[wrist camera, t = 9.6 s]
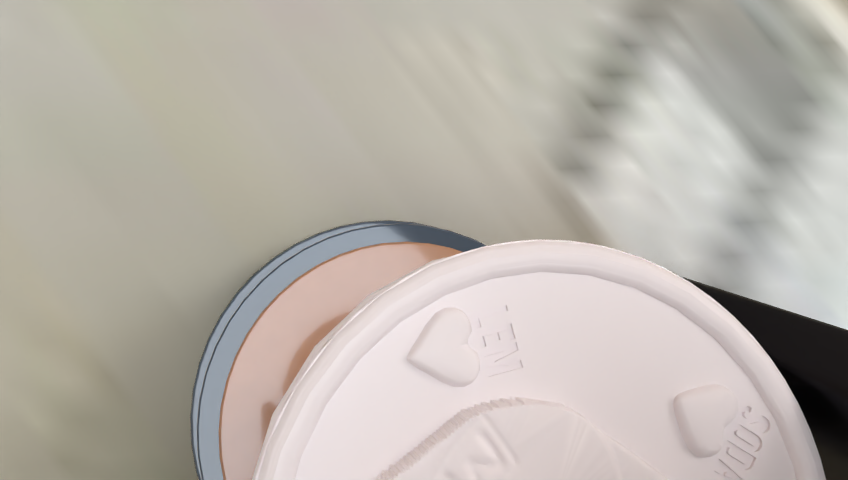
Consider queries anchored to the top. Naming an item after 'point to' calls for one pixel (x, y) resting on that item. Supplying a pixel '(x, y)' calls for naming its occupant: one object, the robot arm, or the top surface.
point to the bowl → (293, 329)
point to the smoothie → (539, 379)
